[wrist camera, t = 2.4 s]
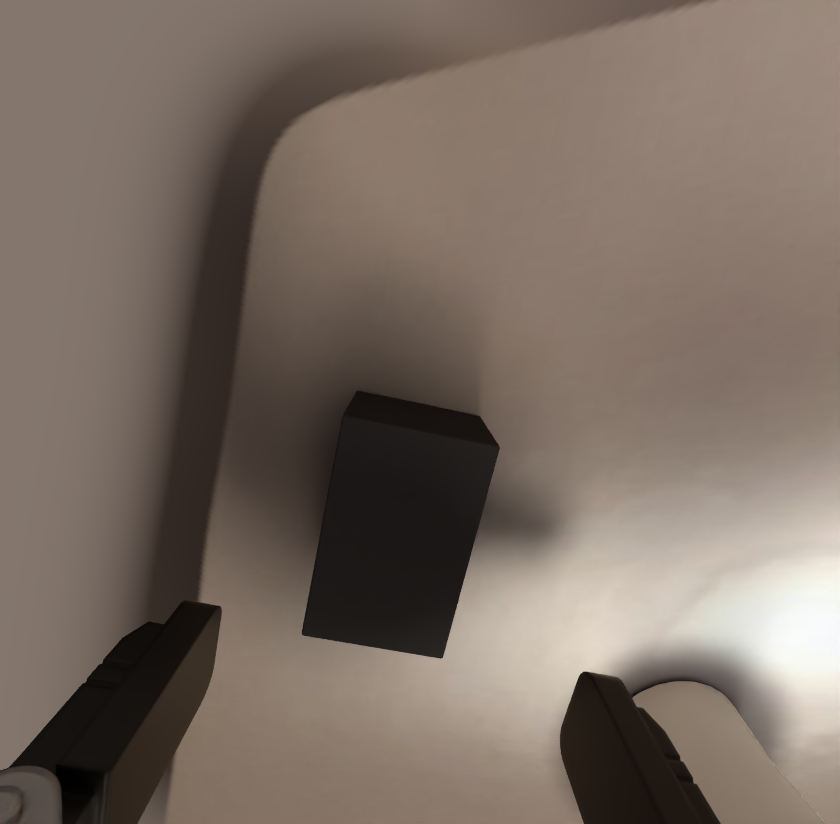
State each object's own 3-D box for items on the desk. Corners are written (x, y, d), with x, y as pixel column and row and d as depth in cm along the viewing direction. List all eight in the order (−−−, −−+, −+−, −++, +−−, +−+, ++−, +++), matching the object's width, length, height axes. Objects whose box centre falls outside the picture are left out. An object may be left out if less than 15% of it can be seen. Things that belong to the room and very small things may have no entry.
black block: (356, 390, 18) (342, 413, 14) (480, 416, 18) (500, 446, 14) (322, 570, 20) (300, 636, 16) (435, 590, 20) (442, 660, 16)
